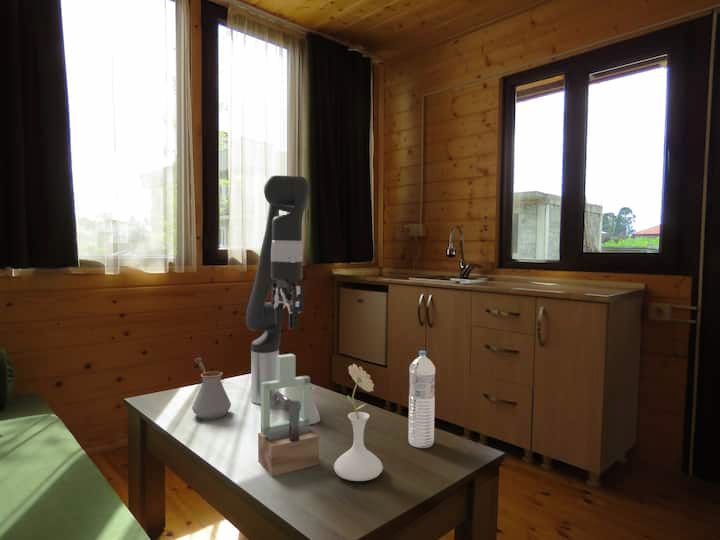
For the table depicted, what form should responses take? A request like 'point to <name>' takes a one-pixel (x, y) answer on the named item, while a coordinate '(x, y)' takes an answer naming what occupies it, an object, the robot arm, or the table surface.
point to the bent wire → (290, 415)
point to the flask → (312, 409)
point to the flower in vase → (358, 439)
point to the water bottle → (421, 402)
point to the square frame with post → (284, 379)
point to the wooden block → (288, 453)
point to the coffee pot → (211, 396)
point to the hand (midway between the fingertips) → (286, 326)
